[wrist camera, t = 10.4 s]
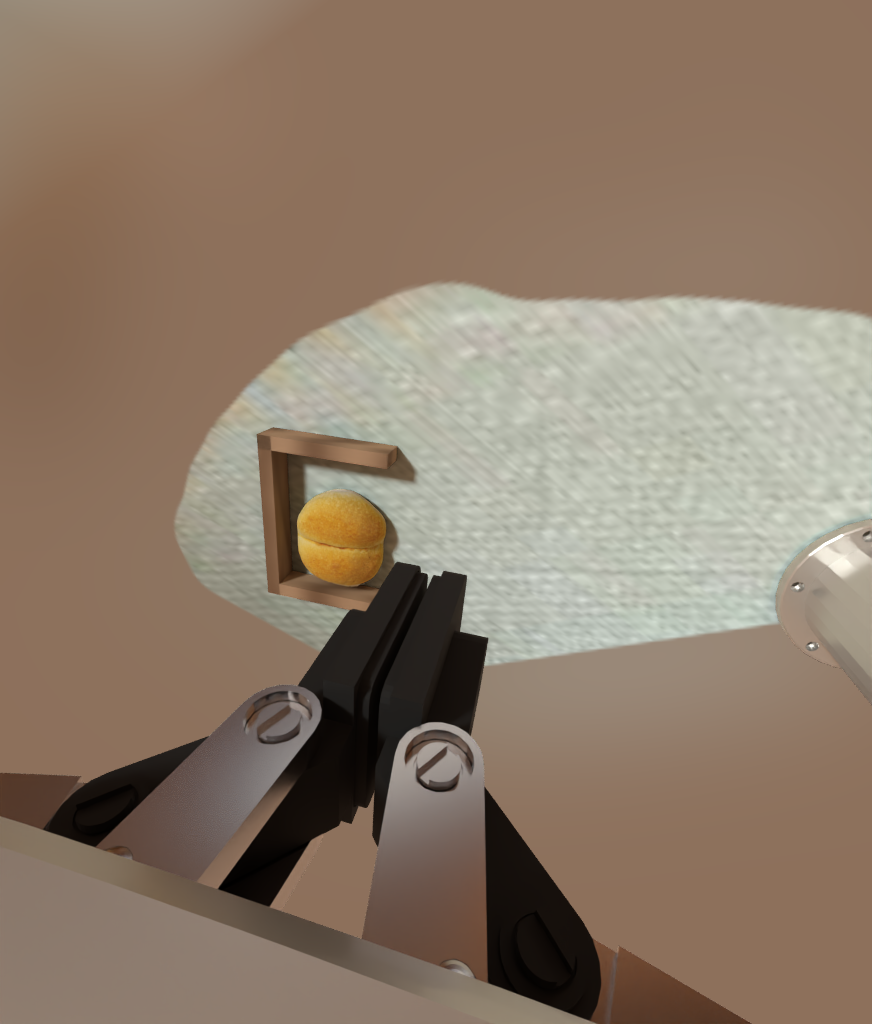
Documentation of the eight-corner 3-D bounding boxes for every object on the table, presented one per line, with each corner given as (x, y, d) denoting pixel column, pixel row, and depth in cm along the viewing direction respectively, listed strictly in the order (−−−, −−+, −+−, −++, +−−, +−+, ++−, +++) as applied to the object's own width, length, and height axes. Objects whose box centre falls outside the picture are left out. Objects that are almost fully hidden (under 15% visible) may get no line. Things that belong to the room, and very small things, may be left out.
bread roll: (392, 495, 41) (377, 512, 37) (383, 581, 45) (369, 605, 41) (304, 476, 42) (281, 491, 39) (303, 562, 46) (282, 583, 42)
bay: (397, 446, 39) (387, 454, 36) (388, 601, 45) (380, 616, 43) (273, 427, 41) (256, 434, 38) (281, 578, 47) (268, 592, 45)
